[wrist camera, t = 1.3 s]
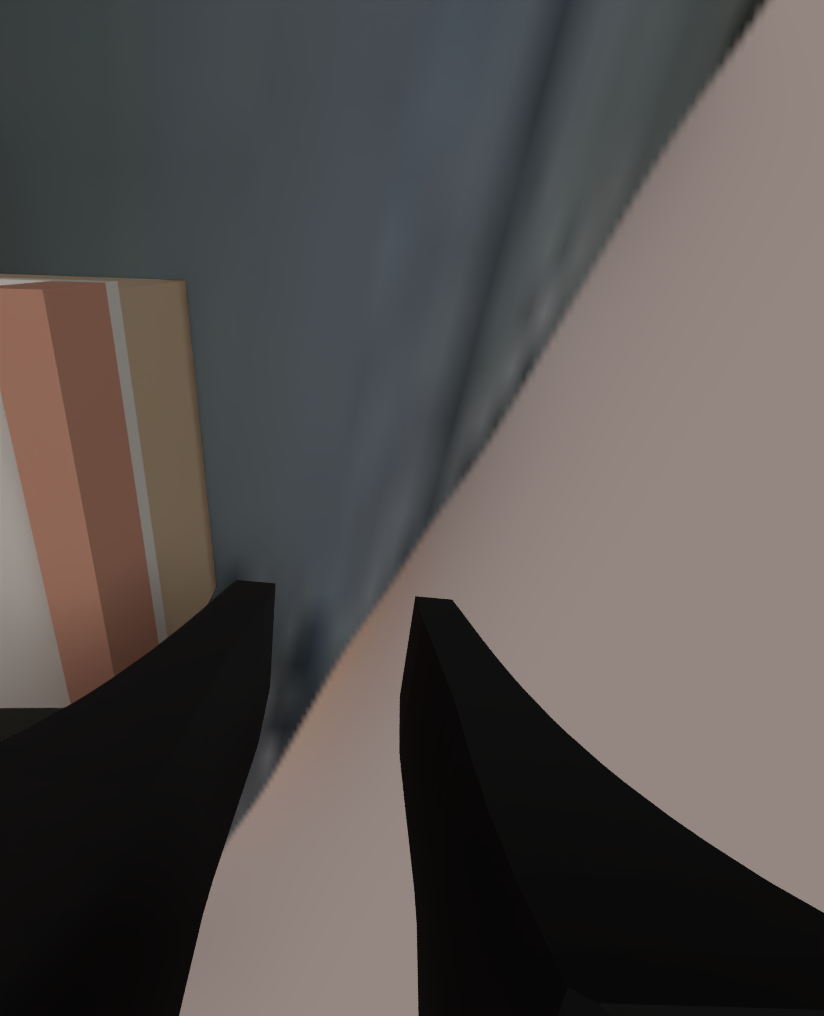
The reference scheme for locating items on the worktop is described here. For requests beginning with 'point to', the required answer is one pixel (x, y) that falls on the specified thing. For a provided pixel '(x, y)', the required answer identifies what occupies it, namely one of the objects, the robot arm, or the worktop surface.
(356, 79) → the worktop surface
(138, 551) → the mailer lid
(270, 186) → the worktop surface
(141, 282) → the box
